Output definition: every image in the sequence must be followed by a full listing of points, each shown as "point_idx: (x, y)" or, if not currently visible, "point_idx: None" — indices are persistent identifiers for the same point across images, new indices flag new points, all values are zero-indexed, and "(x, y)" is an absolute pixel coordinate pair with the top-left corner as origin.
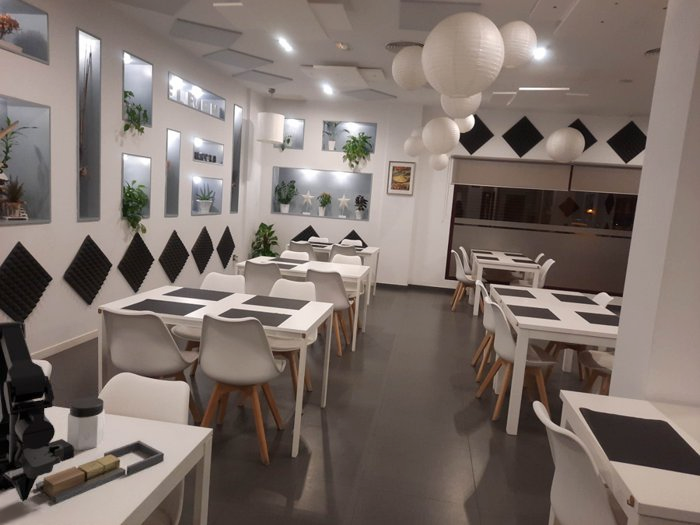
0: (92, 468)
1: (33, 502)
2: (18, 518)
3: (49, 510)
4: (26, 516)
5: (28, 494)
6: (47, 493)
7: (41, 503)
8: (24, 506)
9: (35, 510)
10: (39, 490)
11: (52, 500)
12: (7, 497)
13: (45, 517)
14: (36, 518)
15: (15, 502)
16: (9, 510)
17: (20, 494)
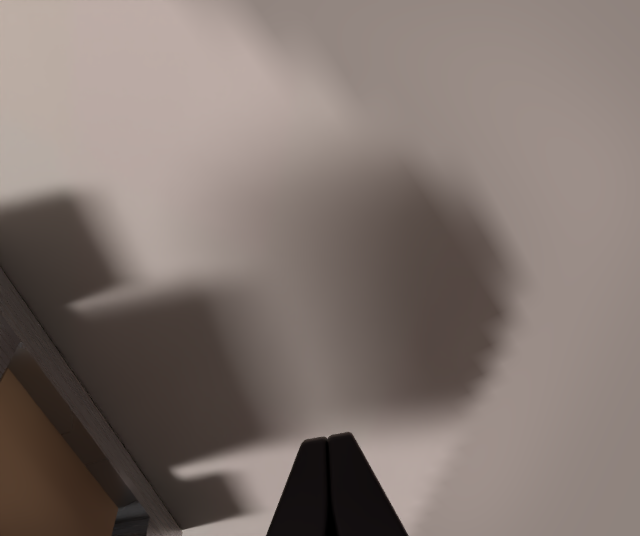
0: None
1: (224, 404)
2: (438, 200)
3: (58, 171)
4: (348, 191)
5: (292, 499)
6: (73, 464)
7: (150, 356)
8: (316, 381)
9: (228, 262)
10: (150, 526)
11: (9, 330)
12: None
13: (117, 5)
14: (246, 62)
15: None
16: (452, 382)
17: (399, 529)
